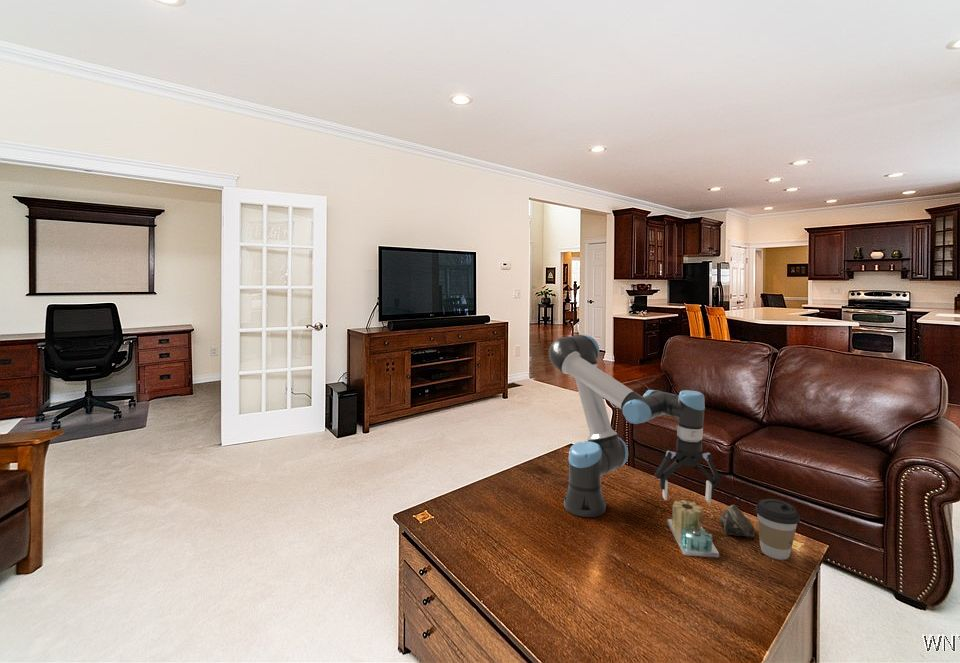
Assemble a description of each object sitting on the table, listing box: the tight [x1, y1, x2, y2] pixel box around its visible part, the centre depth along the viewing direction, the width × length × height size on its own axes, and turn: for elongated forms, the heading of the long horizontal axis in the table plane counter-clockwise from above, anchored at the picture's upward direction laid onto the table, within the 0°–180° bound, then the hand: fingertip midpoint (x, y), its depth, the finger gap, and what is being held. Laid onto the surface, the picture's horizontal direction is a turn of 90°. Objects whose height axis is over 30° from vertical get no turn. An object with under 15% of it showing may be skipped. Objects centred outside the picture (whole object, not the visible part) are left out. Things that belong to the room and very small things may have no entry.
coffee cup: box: [754, 498, 801, 561], centre depth 132 cm, size 11×11×15 cm
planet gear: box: [671, 499, 703, 532], centre depth 144 cm, size 9×9×7 cm
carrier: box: [666, 518, 720, 559], centre depth 140 cm, size 10×18×6 cm, turn 171°
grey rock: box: [718, 504, 756, 539], centre depth 144 cm, size 11×9×10 cm
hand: (686, 499), depth 144 cm, fingers open, 13 cm apart
